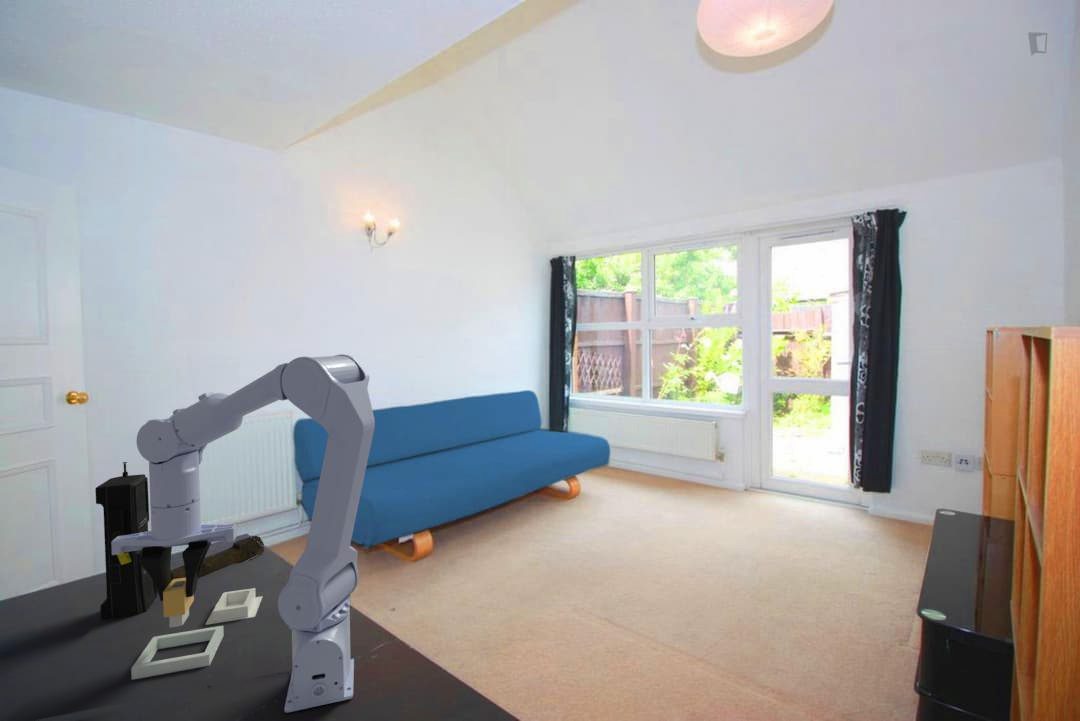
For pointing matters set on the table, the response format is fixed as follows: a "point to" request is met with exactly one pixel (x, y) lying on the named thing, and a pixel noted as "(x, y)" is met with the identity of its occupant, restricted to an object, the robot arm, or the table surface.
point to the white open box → (235, 606)
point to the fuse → (176, 602)
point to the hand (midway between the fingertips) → (178, 595)
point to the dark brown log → (226, 557)
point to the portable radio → (123, 571)
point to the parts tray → (179, 663)
